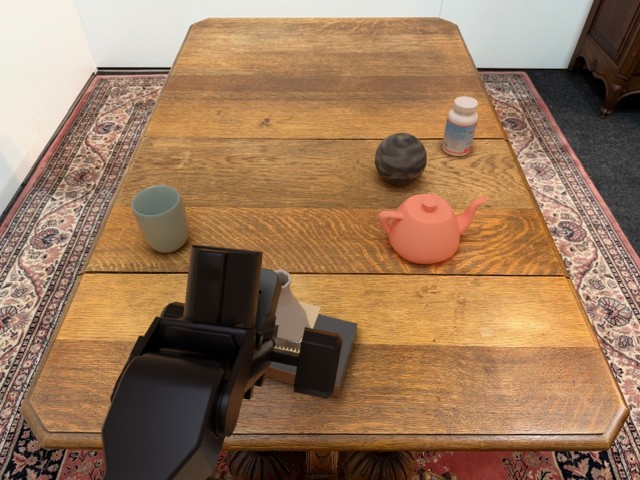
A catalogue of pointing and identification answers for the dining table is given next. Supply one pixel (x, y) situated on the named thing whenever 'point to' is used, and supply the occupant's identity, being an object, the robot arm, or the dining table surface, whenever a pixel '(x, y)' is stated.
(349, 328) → the grey and beige box
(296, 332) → the octagonal bud vase
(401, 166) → the decorative stone
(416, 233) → the teapot
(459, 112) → the pill bottle
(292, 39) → the dining table surface
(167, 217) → the cup
